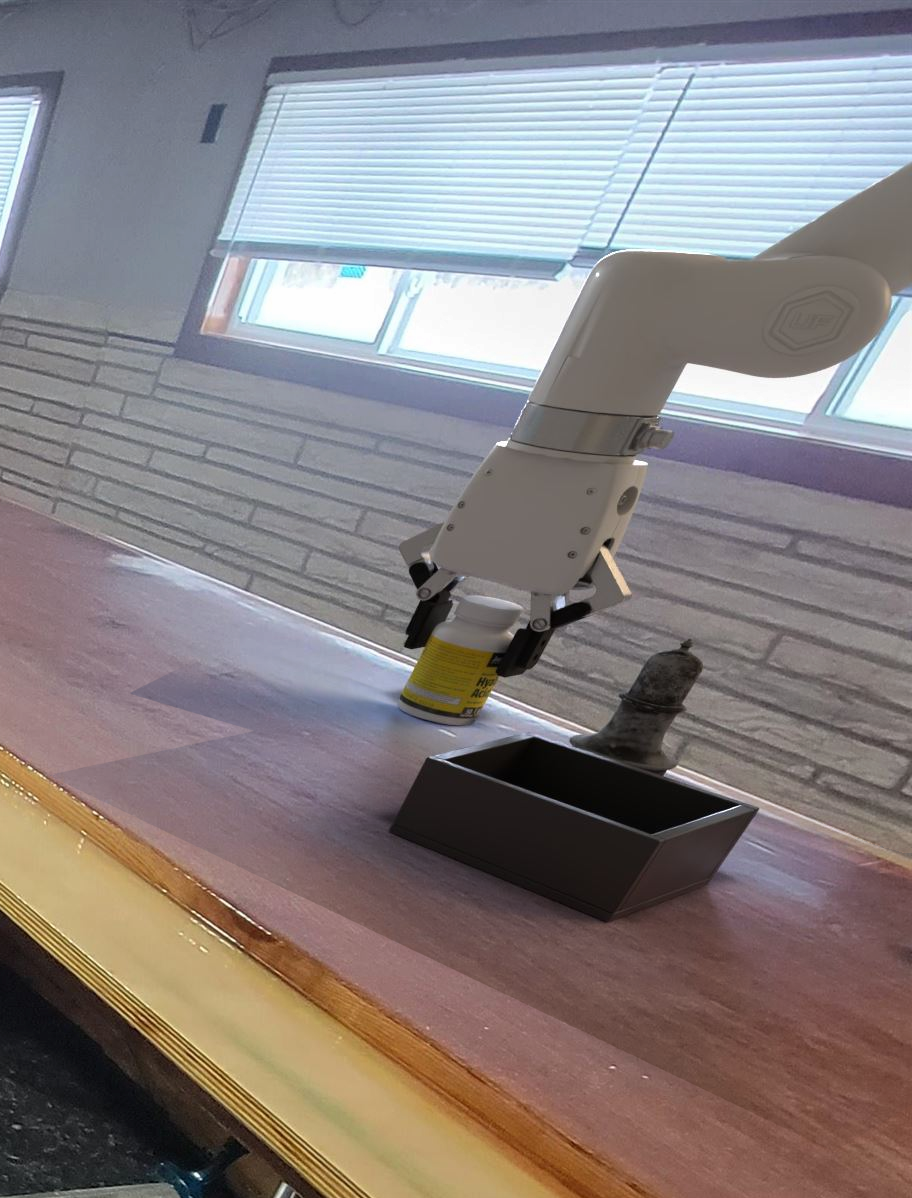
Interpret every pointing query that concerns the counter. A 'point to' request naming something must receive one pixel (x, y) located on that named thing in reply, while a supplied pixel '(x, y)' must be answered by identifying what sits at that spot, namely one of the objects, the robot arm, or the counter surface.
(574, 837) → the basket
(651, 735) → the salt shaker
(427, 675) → the supplement bottle
